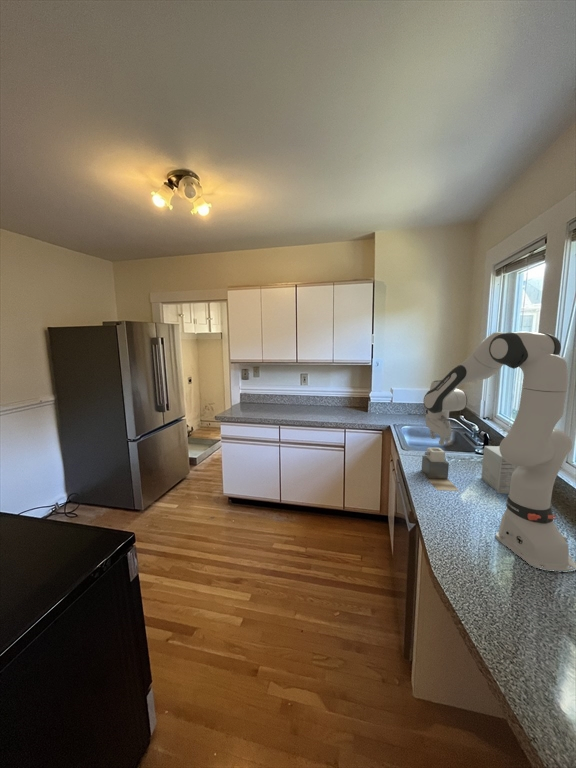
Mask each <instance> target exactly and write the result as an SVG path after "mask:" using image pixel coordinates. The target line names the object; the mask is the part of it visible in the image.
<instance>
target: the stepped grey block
mask: <svg viewBox="0 0 576 768" xmlns="http://www.w3.org/2000/svg"><path fill="white" fill-rule="evenodd" d="M421 457H422V458H421V469H420V472H421V471H422V472H423V473H424V474H425V475H424V474H423V473H422V472H421V473H422V474H423V475H424V477H427V478H428V479H448V478H449V476H448V475H449V470H450V469H449V468H450V467H449V466H450V462H448V461H447V460H446V459H445V461H444V462H431V461H430V460H429V459H428V458H427V455H422V456H421ZM427 478H426V479H427ZM428 479H427V480H428ZM448 480H449V479H448Z"/></svg>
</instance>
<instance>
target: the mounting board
mask: <svg viewBox="0 0 576 768" xmlns="http://www.w3.org/2000/svg"><path fill="white" fill-rule="evenodd" d="M420 472H421V473H422V474H423V475H424V476H425V474H424V473H423V472H422V471H421V470H420ZM425 477H426V476H425ZM426 479H427V481H428V482H429V483H431V485H432V486H433V487H434V488H435V489H436V491H449V492H451V491H452V492H460V490H459V488H457V487H456V486H455V485H454V484H453V483H452V481H451V480H449V479H428V478H427V477H426Z"/></svg>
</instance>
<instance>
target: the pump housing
mask: <svg viewBox="0 0 576 768" xmlns="http://www.w3.org/2000/svg"><path fill="white" fill-rule="evenodd" d="M426 448H427V449H426V451H424V456H427V458H428V459H429V460H430V461H431V462H444V461H445V460H446V452H445V450H443V449H442V448H440V447H426Z"/></svg>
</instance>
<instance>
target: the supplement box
mask: <svg viewBox="0 0 576 768" xmlns="http://www.w3.org/2000/svg"><path fill="white" fill-rule="evenodd" d="M499 447H500V445H497V446H495V445H484V447H483V459H482V467H481V468H482V469H481V480H482V481H483V482H485V483H486V484H487V485H488V486H489V487H490V488H492V489H493V490H494V491H495V492H497V494H507V495H509V491H510V482H511V476H512V473H513V472H514V471H515V470H516V468H517V467H518V466H514V465H511V464H509V463H508V462H506V461H505V460H504V459H503V457H502V456H501V453H500V449H499Z"/></svg>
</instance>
